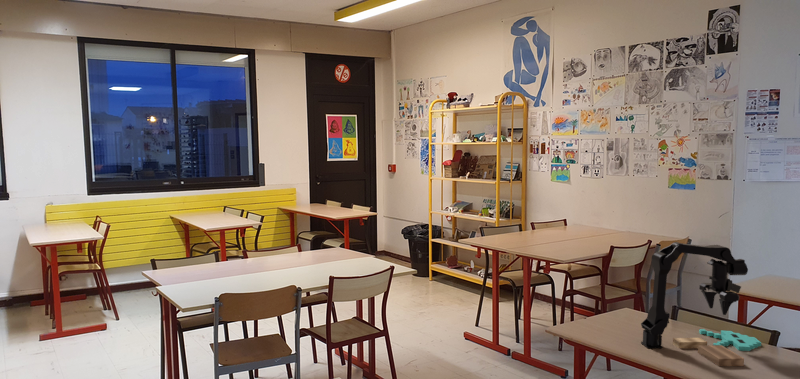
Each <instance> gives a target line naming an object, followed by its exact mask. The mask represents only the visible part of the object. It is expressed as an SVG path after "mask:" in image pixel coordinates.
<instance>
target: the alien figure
mask: <svg viewBox="0 0 800 379" xmlns="http://www.w3.org/2000/svg"><path fill="white" fill-rule="evenodd" d="M698 333H699V334H700V335H702V334H706V335H705V336H707V337H708V336H713V337H712V338H714V339H715V338H719V339H718V341H716V342H713V343H712V344H713V345H722V346H724V347H725V348H726V347H729V345H730V344H731V345H732V346H733V347H734V348H735V349H736V350H737V351H741V352H742V351H744V352H751V350H752V349H754V350H755V349H758V347H760V346H761V347H762V342H761V341H760V340H758V339H757V338H756V337H755V336H749V335H748V334H741V333H740V332H733V331H732V330H720V333H717V332H714V331H711V330H707V329H705V328H699V330H698ZM721 339H722V340H721ZM719 340H720V341H719Z"/></svg>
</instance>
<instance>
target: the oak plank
mask: <svg viewBox="0 0 800 379" xmlns="http://www.w3.org/2000/svg"><path fill="white" fill-rule="evenodd" d="M672 345H673V346H674V347H676V348H678V349H679V348H681V349H698V346H701V345H708V341H706V339H703V338H702V337H673V338H672Z"/></svg>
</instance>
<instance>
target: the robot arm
mask: <svg viewBox="0 0 800 379" xmlns="http://www.w3.org/2000/svg"><path fill="white" fill-rule="evenodd" d="M682 254H689V255H699V256H704V257H705V256H706V257H710V258H711V259H710V260H709V261H707V262H706V263H707V264H706V265H710V266H711V275H710V276H709V277H708V278H709V280H711V282H702V283H700V284H699V290H700V292H701V293H702V294H703V297H704V299H705V300H706V303H707V305H708V307H709V309H713V308H714V304H715V297H716V295H717V294H718V295H719V299H718V302H719V305H720V309H721V313H722V315H723V316H726V315H727V313H728V311H729V309H730V307H731V305H732V304H733V303H736V302H738V301H740V295H739V294H740V291H741V289H742V286H740V285H739V284H736V283H733V280H731V279H730V278H729V277H728V275H729V276H746V275H747V274H748V271H749V269H748V265H747V264H746V260H745V259H742V258H739V259H735V257H734V255H733V254H732V251H731V249H730V248H729V247H726V246H723V245H719V244H709V245H698V244H691V243H690V244H689V243H681V242H677V241H676V242H672V243H671V244H670V245H668V246H665V247H663V248H661V249H660V250H659V251H655V252H654V253H653V254H652V255H651V266H652V269H653V272H654V275H653V276H654V277H653V278H654V279H653V290H652V304H651V306H650V308H649V310H648V312H647V317H646V318H645V319H644V320H643V321H641V323H640V326H641V328H642V329H643V330H642V341H640V343H641V344H642V345H643V346H644V347H646V348H648V349H662V348H663V345H662V344H663V340H662V339H663V334H664V332H665V329H666V328H667V327H668V325H669V324H670V320H669V319H670V313H669V312H667V311H666V308H665V307H666V306H665V304H666V292H667V281H668V274H669V273H670V272H671V270H672V266H673V263H674V262H676V261H678V259H679V257H680V256H681V255H682ZM713 258H714V259H713Z"/></svg>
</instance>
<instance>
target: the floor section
mask: <svg viewBox="0 0 800 379" xmlns="http://www.w3.org/2000/svg"><path fill="white" fill-rule="evenodd" d="M697 353H698V354H699V355H701V356H702V357H704V358H705V359H707V360H708V361H710V362H711V363H713V364H715V365H716V366H717V367H744V366H745V358H744V357H742V356H741V355H739V354H737V353H736V352H734V351H732V350H730V349H729V348H727V347H726V346H725V347H724V346H722V345H712V344H710V345H708V344H707V345H701V346H698V348H697Z"/></svg>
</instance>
